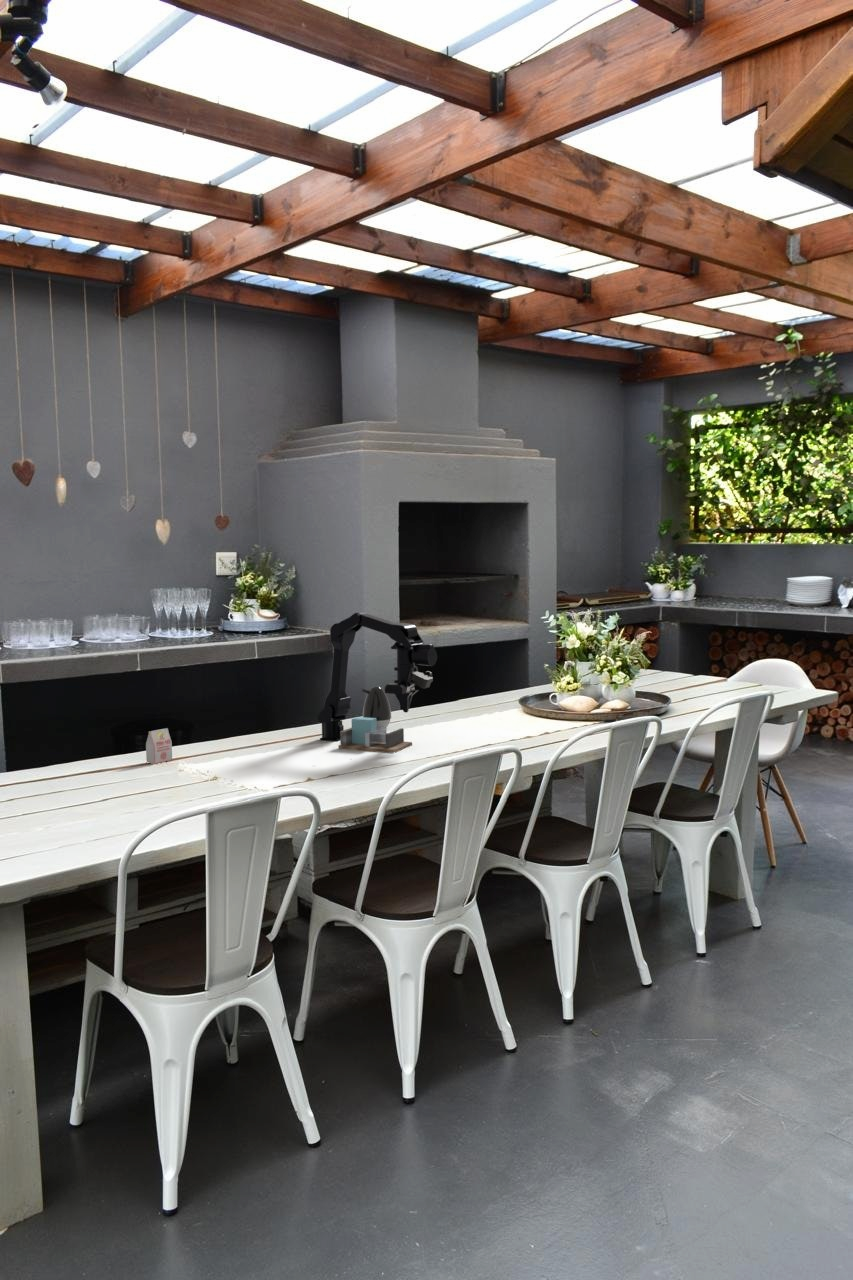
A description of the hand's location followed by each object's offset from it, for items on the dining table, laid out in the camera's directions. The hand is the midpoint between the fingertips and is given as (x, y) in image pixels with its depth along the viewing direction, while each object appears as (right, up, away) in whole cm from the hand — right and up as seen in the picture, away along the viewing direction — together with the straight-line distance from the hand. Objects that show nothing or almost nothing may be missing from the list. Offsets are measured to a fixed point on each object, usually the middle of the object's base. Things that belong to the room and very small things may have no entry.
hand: (405, 712), depth 324 cm
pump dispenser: (-11, -9, +37) cm, 39 cm away
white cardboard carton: (-75, -14, -14) cm, 78 cm away
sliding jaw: (-7, -10, +2) cm, 12 cm away
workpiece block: (-14, -10, +5) cm, 18 cm away
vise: (-10, -11, +3) cm, 15 cm away
